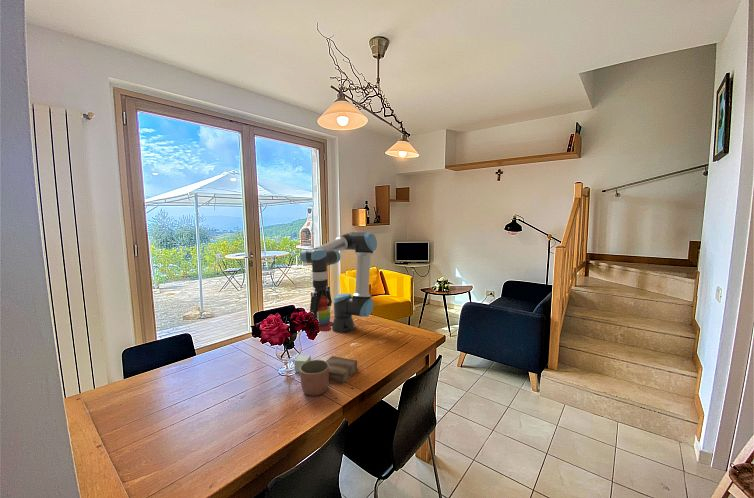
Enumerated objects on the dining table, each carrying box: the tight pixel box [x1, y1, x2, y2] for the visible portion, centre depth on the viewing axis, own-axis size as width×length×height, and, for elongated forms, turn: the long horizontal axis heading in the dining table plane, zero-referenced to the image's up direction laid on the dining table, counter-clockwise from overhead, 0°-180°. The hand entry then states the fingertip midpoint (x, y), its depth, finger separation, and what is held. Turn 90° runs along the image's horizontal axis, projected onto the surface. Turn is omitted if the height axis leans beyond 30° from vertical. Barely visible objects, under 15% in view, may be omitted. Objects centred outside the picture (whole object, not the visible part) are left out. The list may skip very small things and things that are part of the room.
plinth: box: [325, 355, 358, 385], centre depth 146 cm, size 14×14×5 cm
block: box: [293, 354, 312, 374], centre depth 150 cm, size 6×6×6 cm
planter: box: [299, 359, 330, 397], centre depth 132 cm, size 12×12×11 cm
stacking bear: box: [317, 295, 333, 332], centre depth 159 cm, size 11×10×18 cm
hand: (322, 321), depth 159 cm, fingers closed on stacking bear, 9 cm apart
